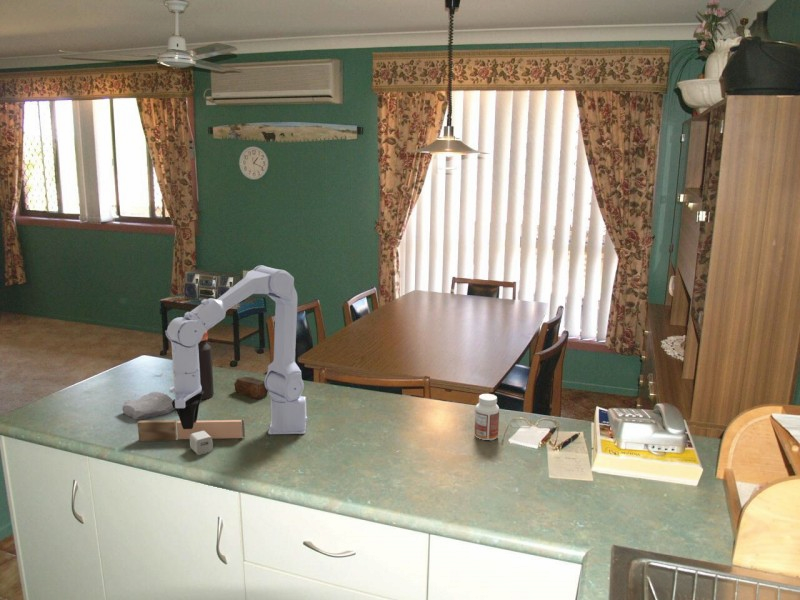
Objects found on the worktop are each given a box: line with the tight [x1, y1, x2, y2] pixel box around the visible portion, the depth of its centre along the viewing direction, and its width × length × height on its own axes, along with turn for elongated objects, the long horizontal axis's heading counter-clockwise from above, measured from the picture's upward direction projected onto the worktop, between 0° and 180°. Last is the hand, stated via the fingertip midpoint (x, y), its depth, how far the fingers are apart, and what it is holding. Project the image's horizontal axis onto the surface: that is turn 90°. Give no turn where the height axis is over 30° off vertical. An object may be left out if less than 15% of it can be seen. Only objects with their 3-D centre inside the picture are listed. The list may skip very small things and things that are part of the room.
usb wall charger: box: [189, 431, 214, 456], centre depth 153 cm, size 4×7×4 cm, turn 39°
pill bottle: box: [474, 393, 500, 441], centre depth 162 cm, size 6×6×11 cm
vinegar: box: [198, 330, 215, 401], centre depth 185 cm, size 7×7×20 cm
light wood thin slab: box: [176, 418, 246, 440], centre depth 158 cm, size 17×1×5 cm, turn 95°
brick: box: [234, 376, 269, 400], centre depth 189 cm, size 11×4×5 cm, turn 56°
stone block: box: [122, 391, 175, 421], centre depth 175 cm, size 12×5×10 cm
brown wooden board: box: [137, 419, 178, 442], centre depth 157 cm, size 9×1×5 cm, turn 95°
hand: (189, 425), depth 145 cm, fingers open, 3 cm apart
